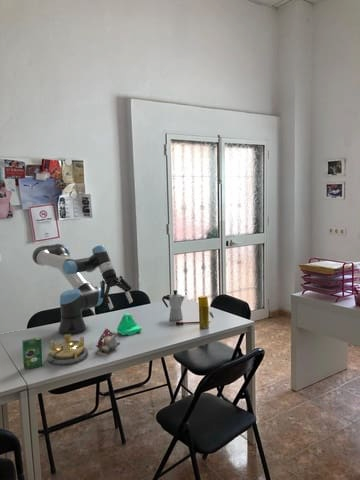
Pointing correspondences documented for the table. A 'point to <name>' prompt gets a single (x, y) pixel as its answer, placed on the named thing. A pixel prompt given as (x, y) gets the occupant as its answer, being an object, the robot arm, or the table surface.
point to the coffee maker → (174, 305)
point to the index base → (68, 361)
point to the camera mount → (128, 325)
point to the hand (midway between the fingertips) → (121, 305)
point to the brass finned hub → (67, 348)
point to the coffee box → (32, 353)
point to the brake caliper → (107, 342)
